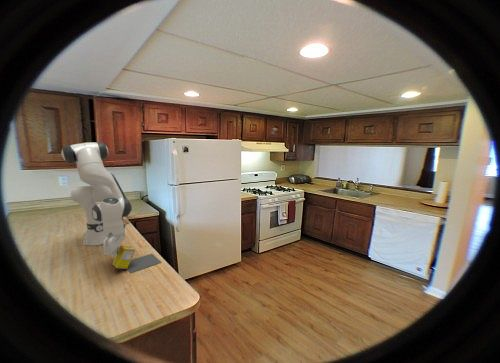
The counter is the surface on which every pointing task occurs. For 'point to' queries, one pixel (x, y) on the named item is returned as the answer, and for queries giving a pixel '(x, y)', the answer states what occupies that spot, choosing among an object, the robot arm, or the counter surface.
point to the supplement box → (123, 258)
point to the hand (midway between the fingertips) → (115, 255)
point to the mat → (142, 263)
